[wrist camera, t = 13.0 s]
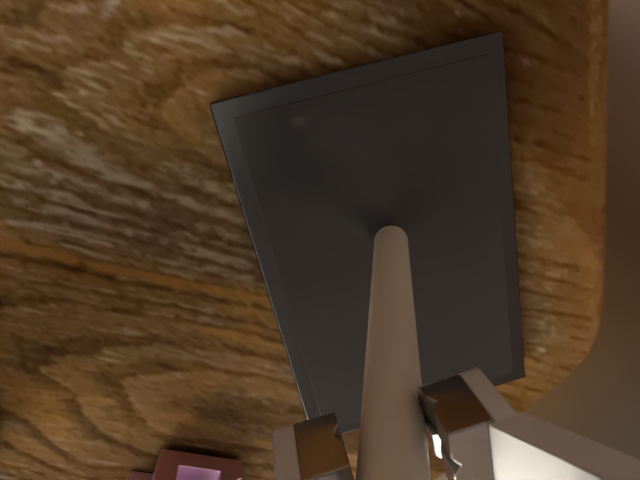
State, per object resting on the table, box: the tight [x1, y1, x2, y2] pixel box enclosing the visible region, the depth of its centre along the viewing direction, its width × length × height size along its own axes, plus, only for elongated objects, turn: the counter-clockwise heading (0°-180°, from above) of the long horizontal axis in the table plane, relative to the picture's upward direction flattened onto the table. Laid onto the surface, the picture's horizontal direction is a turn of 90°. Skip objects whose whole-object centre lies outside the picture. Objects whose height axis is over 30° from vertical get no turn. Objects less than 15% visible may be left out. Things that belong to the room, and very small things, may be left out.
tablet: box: [210, 31, 525, 434], centre depth 22 cm, size 19×13×1 cm
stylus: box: [356, 226, 431, 480], centre depth 14 cm, size 2×2×15 cm
